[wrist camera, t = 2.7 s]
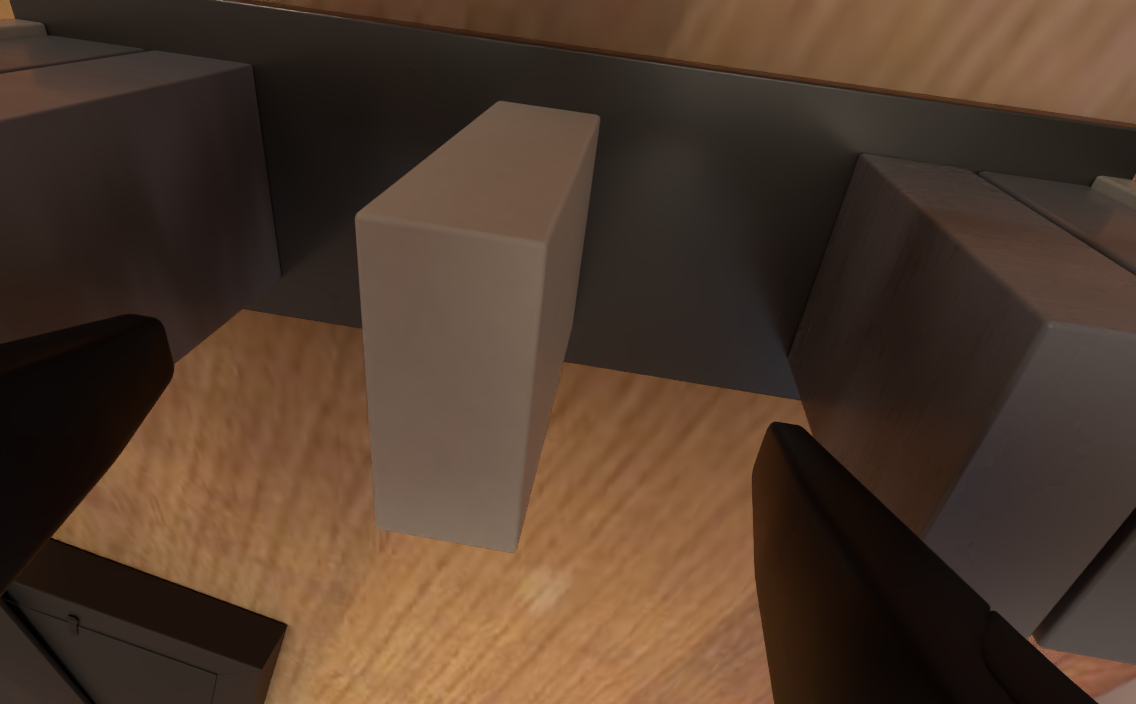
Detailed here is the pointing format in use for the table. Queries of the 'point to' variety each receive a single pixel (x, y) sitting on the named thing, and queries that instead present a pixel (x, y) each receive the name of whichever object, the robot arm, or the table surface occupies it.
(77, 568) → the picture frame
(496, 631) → the table surface
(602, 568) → the table surface
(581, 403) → the table surface
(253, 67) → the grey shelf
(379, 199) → the beige rectangular block
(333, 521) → the table surface
